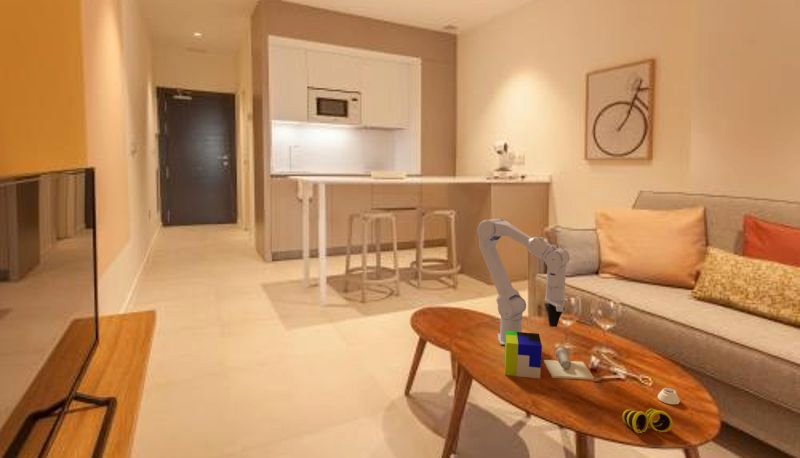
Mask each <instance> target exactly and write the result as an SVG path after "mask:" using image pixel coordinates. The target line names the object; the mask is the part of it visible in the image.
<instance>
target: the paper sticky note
mask: <svg viewBox="0 0 800 458" xmlns="http://www.w3.org/2000/svg"><path fill="white" fill-rule="evenodd" d="M570 361H571V363H572V365H571V367H570V368H569V369H564V368H562V367H561V365H560V361H559V360H555V359H554V360H553V359H543V363H544V365H545V367H546V368H547V371H548V373H549V374H550V376H551V378H552V379H553V378H554V379H568V380H570V379H571V380H572V379H573V380H590V381H591V380H592V381H593V380H595V377H594V376H593V374H592V373H591V371H590V369H589V368H588V367H587V365H586V364H585V362H583V361H575V360H573V361H572V360H570Z"/></svg>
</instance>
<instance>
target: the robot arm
mask: <svg viewBox="0 0 800 458" xmlns="http://www.w3.org/2000/svg"><path fill="white" fill-rule="evenodd" d="M476 233H477V235H478V247H479V251H480V253H481V256H482V257H483V260H484V263H485V265H486V267H487V269H488V272H489V274H490V277H491V280H492V281H493V284H494V286H495V288H496V292H497V296H496V300H495V301H496V302H497V312H498V314H499V315H500V326H499V328H500V331H499V332H500V333H497V334H496V335H498V336H497V339H498V341H499V345H501V346H502V345H503V346H505V337H506V331H513V332H523V330H522V329H523V313H524V312H525V311H526V309H527V302H526V300H525V298H523V297H522V296H521V295H520V291H518V290H517V289H516V288H515V287H513V285H512V282H511V280H510V277H509V276H508V273H507V271H506V269H505V266H504V263H503V261H502V259H501V257H500V254H499V252H498V250H497V247H496V246H497V244H498V241H499V240H500V239H501V237H508V238H509V239H512V240H514V241H516V242H518V243H520V244H521V245H524V246H526V249H527V252H529V253H530V254H532V255H533V256H535V257H537V258H539V259H541V260H542V261H543V262H544V263H545V265H546V266H547V269H546V270H547V271H546V285H545V286H546V287H545V297H544V301H545V303H544V304H543V305H544V307H545V310H546V313H547V319H548V325H549V326H550V328H554V327H555V328H557V327H558V324H559V320H560V318H561V316H562V314H563V313H564V311H565V306H564V305H565V303H568V302H569V301H568V298H565V292H566V278H567V277H566V275H567V273H566V272H567V264H568V263H569V261H570V254H569V252H568V251H567V250H566V249H565V248H564V247H558V248H557V245H555V244H551V243H549V242H547V241H545V240H544V239H545V238H544V237H542V236H539V237H538V236H534V237H531V236H530V235H528V234H526V233H525V231H524V232H523V231H522V230H520V229H519V228H517V227H516V226H514V225H513V224H512V223H510V222H509V221H507V220H504V219H503V218H501V217H496V218H493V219H491V218H490V219H484V220H482V221H480V222H479V224H478V226H477V229H476ZM546 302H547V303H546Z"/></svg>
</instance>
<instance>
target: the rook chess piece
mask: <svg viewBox="0 0 800 458" xmlns="http://www.w3.org/2000/svg"><path fill="white" fill-rule="evenodd" d="M570 353H571V352H570V351H569V349H568V348H567V347H565V346H564V347H563V346H560V347H558V348H557V349H555V352H554V354H555V355H554V356H555V357H556V359H557V361H560V365H561V367H562V368H564V369H569V368H570V367H571V365H572V363H571V361H572V360H570V359H571V357H570V356H571V354H570Z"/></svg>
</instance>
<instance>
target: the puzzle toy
mask: <svg viewBox="0 0 800 458" xmlns="http://www.w3.org/2000/svg"><path fill="white" fill-rule="evenodd" d="M542 351H543V345H542V341H541V336H540V334H539V333H534V332H523V331H522V332H513V331H506V337H505V345H504V359H503V360H504V375H505V376H511V377H512V376H513V377H514V376H515V377H524V378H534V379H541V367H542V355H543V354H542Z"/></svg>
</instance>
